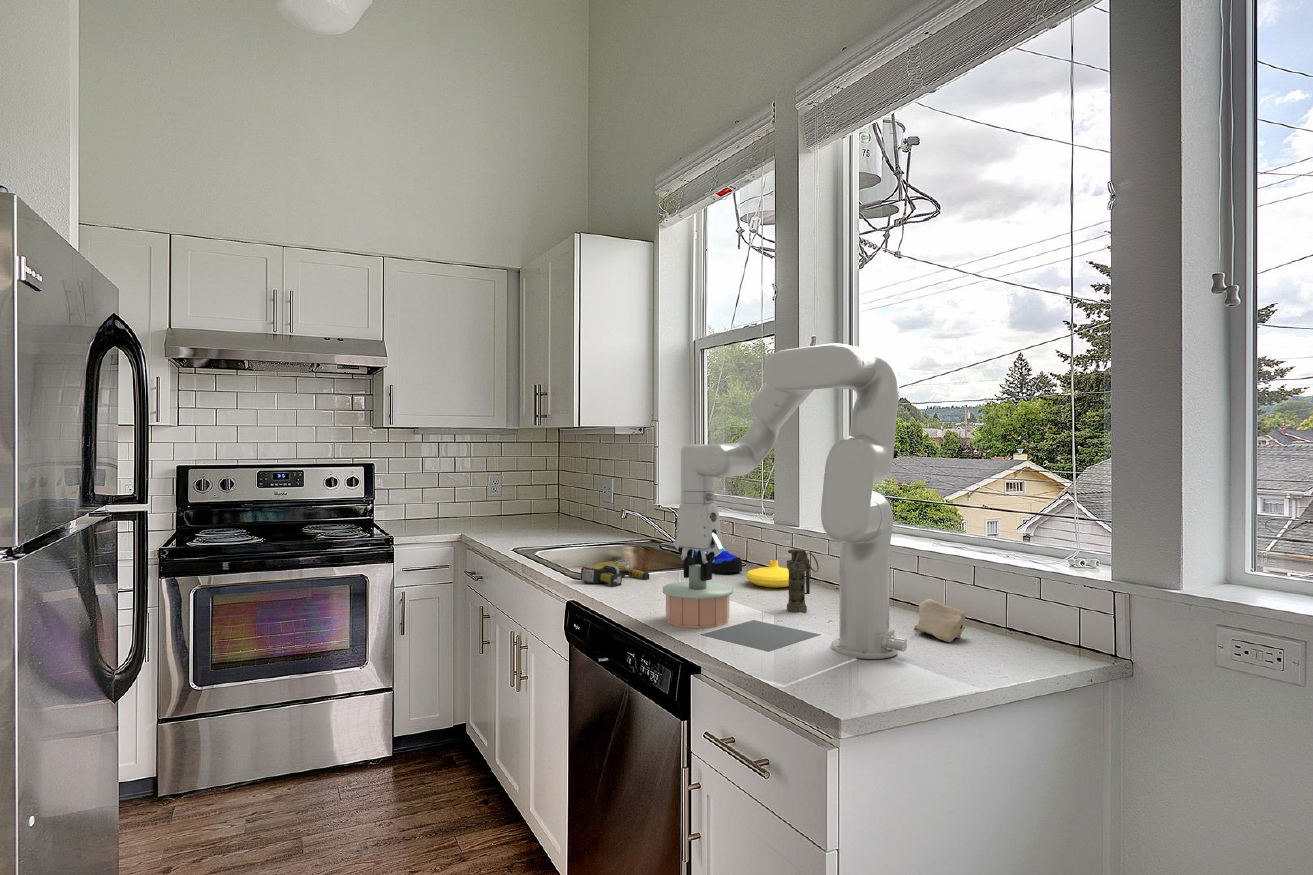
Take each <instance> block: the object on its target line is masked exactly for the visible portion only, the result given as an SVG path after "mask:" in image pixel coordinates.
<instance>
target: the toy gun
mask: <svg viewBox="0 0 1313 875" xmlns="http://www.w3.org/2000/svg"><path fill="white" fill-rule="evenodd" d="M631 564H632V563H631V560H628V559H627V560H626V559H623V558H622V559H618V560H610V561H605V562H600V563H599V562H598V563H595V564H589V565H584V566H582V567H581V568H580V576H579V577H580V580H581V582H583V583H584V582H585V583H584V584H610V587H616V586H622V583H623V582H622V581H623V578H625V576H628V577H633V578H635V579H638V580H643V581H647V580H649V579H650V573H649V572H648V571H642V570H638V569H634V568H631V567H629V568H628V565H629V566H631ZM627 568H628V569H627ZM586 582H587V583H586Z"/></svg>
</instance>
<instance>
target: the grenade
mask: <svg viewBox="0 0 1313 875" xmlns="http://www.w3.org/2000/svg"><path fill="white" fill-rule="evenodd" d="M787 552H788V554H791V559H788V560H787V561H786V568H787V569H788V570H789V586H788V602H787V603H786V610H787V612H788V613H789V612H791V613H799V614H800V613H801V614H802V613H803V614H806V613H807V612H808V608H807V607H808V606H807V604H806V598H805V595H810V593H811V592H810V591H811V588H810V586H811V585H810V584H811V581H810V580H811V579H810V576H811V575H810V572H811V570H812V571H813V573H817V572H819V569H820V568H819V562H818V560H817V558H816V556H815V555H814V554H813V553H811V552H806V550H805V549H804V548H803V549H801V548H793V549H792V548H791V549H789V550H788V551H787ZM808 555H811V556H812V558H813V559H814V561H815V564H816V570H815V569H813V567H812V566H811V564H810V559H809V558H808Z"/></svg>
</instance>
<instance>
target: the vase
mask: <svg viewBox="0 0 1313 875" xmlns="http://www.w3.org/2000/svg"><path fill="white" fill-rule="evenodd" d="M745 578H746V579H747V580H748V581H749V582H751V583H752V584H754V585H756V586H759V587H766V588H776V589H777V588H787V587H789V570H788V568H787V567H780V566H779V562H778V560H777V559H771V560H769V566H764V567H758V568H753V569H750V570H748V571H747V572H746V573H745Z"/></svg>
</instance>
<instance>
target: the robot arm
mask: <svg viewBox="0 0 1313 875" xmlns="http://www.w3.org/2000/svg"><path fill="white" fill-rule="evenodd" d="M762 372H763V379H764V382H765V384H764V385H763V386H762V387H761V389H760V390H759V391H757V393H756V395H754V397H753V398H752V399H751V400H750V403H749V409H750V412H751V413H752V415H753V420H752V423H751V424H750V426H749V428H748V429H747V431H745V433H744V434H743V435H742V436H741V438H739V440H738V441H737V442H726V443H714V444H703V443H702V444H701V443H697V444H696V443H695V444H694V443H692V444H689V443H688V444H685V445H682V447H681V450H680V503H679V506H678V512H677V520H676V538H675V539H674V541H673V542H672V544H673V546H674V547H675V549H676V550H678V553H679V554H680V556H681V557H680V559H681V560H682V561H683V578H684V579H689V565H695V559H692V558H693V554H694V549H700V550H701V555H702V561H703V563H701V581H707V582H708V581H711V580H712V579H713V573H712V562H714V561H715V558H716V557H717V556H718V555H719V554H720V553H721V552H722V551H723V547H724V546H723V544H722V532H721V520H720V514H719V509H718V505H717V504H715V501H716V500H717V495H716V494H715V478H718V479H719V478H722V479H724V478H730V477H732V478H733V477H743V476H746V475H748V474H750V473H751V472H753V471H754V470H755V469H756V468H757V467H758V466H759V465H760V464H761V463H762V461H764V459H765V458H766V457H767V456H768V455H769V453H771V451H772V449H773V448H774V447H775V444H776V442H777V440H778V437H779V435H780V433H781V429H782V427H783V425H784V424H785V423H786V422H787V421H788V420H789V418H790V417H791V416H792V415H793V414H794V413H795V411H796V410H797V409H798V408H799V407H800V406H801V405H802V404H803V403H804V402H805V401H806V399H807V398H808V397H809V396H810V395H811V394H812V393H813V391H814V390H821V389H823V390H825V389H841V390H852V391H854V392H855V393H856V399H855V402H854V405H853V408H852V412H851V420H850V422H851V424H850V432H849V436H848V435H847V436H845V437H842V438H841V439H839V440H837V441H836V442H835V443H834V444H833V445H832V446H831V448H830V450H829V452H828V454H827V457H826V460H825V464H824V465H825V466H824V476H823V483H822V484H823V487H822V493H821V494H822V495H821V505H820V506H821V507H820V520H821V526H822V528H823V530H824V532H825V534H826V535H827V536H828V537H829V538H830V539H832V540H833V541H835V542H836V543H839V544H840V549H839V550H840V551H839V571H838V572H839V638H836V639H834V640H833V641H832V642H831V649H832V650H833V651H834V652H836V653H839V654H841V655H844V656H849V657H855V659H864V660H880V659H888V658H892V657H894V656H896V655H897V654H898V652H903V653H904V652H906V650H907V648H908V640H907V639H906V638H900V637H896V635H895V629H893V628H890V554H891V553H890V552H891V543H892V542H891V539H892V534H893V526H894V515H893V509H892V507H891V505H890V503H889V501H888V500H887V498H886V497H885V496H883V495H882V494H881V493H879V492H877V491H874V490H873V487H874V484H876V483H877V484H878V483H880V482H882V481H884V480H885V479H886V478H888V476H889V475H890V474H891V472H892V469H893V465H894V454H895V452H894V450H895V442H896V433H897V432H896V431H897V430H896V429H897V419H898V418H897V417H898V410H899V409H898V408H899V401H900V400H899V399H900V383H899V382H900V381H899V378H898V376H897V373H896V370H895V369H894V366H892V364H891V363H890V362H889V361H888V360H887V359H885V358H884V357H883V356H881V355H880V354H878V353H876V352H874V351H872V350H869V349H867V348H864V347H859V346H854V345H849V344H845V343H844V344H843V343H827V344H826V343H825V344H819V345H811V346H803V347H796V348H787V349H781V350H778V351H776V352H774V353H773V354H772V355H770V357H768V359H767V360H766V361H765V364H764V367H763V371H762ZM721 544H722V545H721ZM722 546H723V547H722ZM713 548H714V550H713ZM706 551H708V555H707V552H706Z"/></svg>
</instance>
